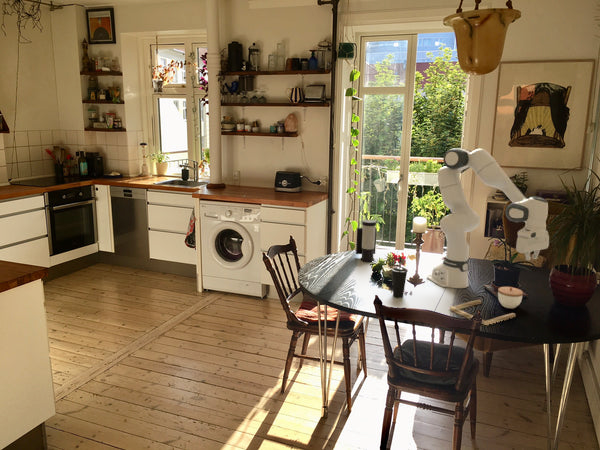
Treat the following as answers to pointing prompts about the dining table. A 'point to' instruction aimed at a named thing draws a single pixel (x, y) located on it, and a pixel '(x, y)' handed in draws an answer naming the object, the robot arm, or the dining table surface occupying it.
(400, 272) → the drinking cup
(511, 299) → the lidded jar
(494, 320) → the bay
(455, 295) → the dining table surface
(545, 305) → the dining table surface
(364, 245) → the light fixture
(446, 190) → the robot arm
